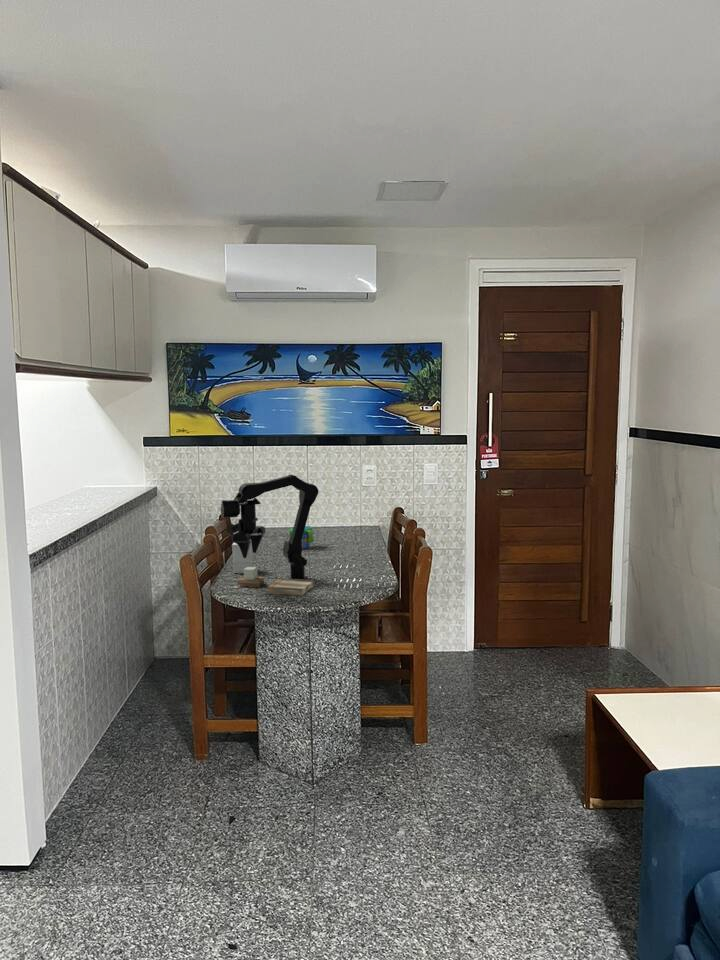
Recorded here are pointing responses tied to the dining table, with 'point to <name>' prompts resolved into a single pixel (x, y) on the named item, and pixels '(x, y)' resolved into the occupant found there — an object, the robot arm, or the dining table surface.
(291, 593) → the birch dock
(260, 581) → the walnut pallet
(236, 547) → the supplement box
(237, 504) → the robot arm
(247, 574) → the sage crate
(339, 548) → the dining table surface
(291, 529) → the snack cup
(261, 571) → the dining table surface
